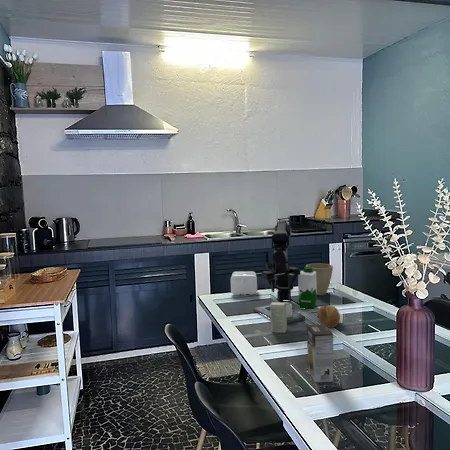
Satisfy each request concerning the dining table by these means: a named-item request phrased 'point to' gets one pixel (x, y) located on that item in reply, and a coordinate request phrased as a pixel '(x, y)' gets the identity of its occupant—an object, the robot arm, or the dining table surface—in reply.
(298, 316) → the socket panel
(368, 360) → the dining table surface
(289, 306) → the plug
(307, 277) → the milk carton
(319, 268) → the plant pot
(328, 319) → the bread roll
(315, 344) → the coffee box
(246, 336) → the dining table surface
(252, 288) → the white rounded box
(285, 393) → the dining table surface
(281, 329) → the skincare box
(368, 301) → the dining table surface
